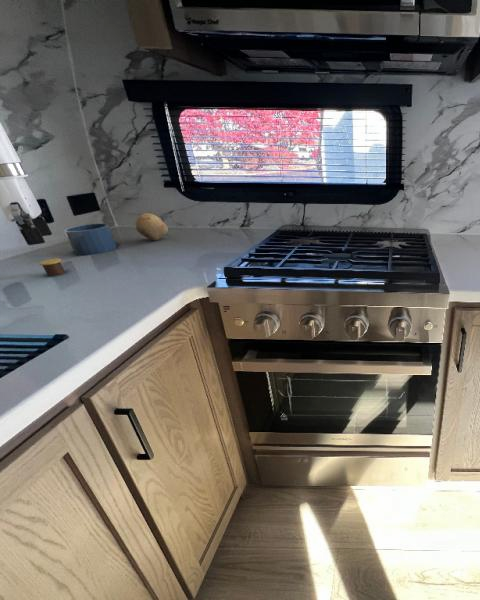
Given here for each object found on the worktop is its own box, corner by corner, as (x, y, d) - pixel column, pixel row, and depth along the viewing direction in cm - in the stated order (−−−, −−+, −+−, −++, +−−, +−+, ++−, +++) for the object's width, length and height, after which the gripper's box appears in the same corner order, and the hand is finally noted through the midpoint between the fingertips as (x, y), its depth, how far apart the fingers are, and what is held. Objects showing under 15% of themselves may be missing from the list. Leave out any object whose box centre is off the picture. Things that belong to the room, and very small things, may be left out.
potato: (136, 241, 123) (125, 214, 118) (161, 235, 130) (152, 209, 125) (149, 244, 119) (138, 216, 114) (174, 238, 126) (165, 211, 121)
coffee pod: (45, 280, 90) (37, 265, 88) (48, 275, 94) (40, 260, 92) (66, 276, 93) (59, 261, 91) (69, 271, 96) (62, 257, 94)
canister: (73, 257, 107) (61, 233, 104) (77, 249, 115) (67, 226, 112) (116, 251, 113) (106, 227, 109) (118, 243, 121) (108, 221, 118)
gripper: (-7, 170, 85) (29, 235, 93) (-32, 176, 73) (12, 250, 81) (32, 168, 89) (64, 230, 97) (16, 173, 76) (54, 244, 84)
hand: (41, 239), depth 89 cm, fingers open, 9 cm apart
